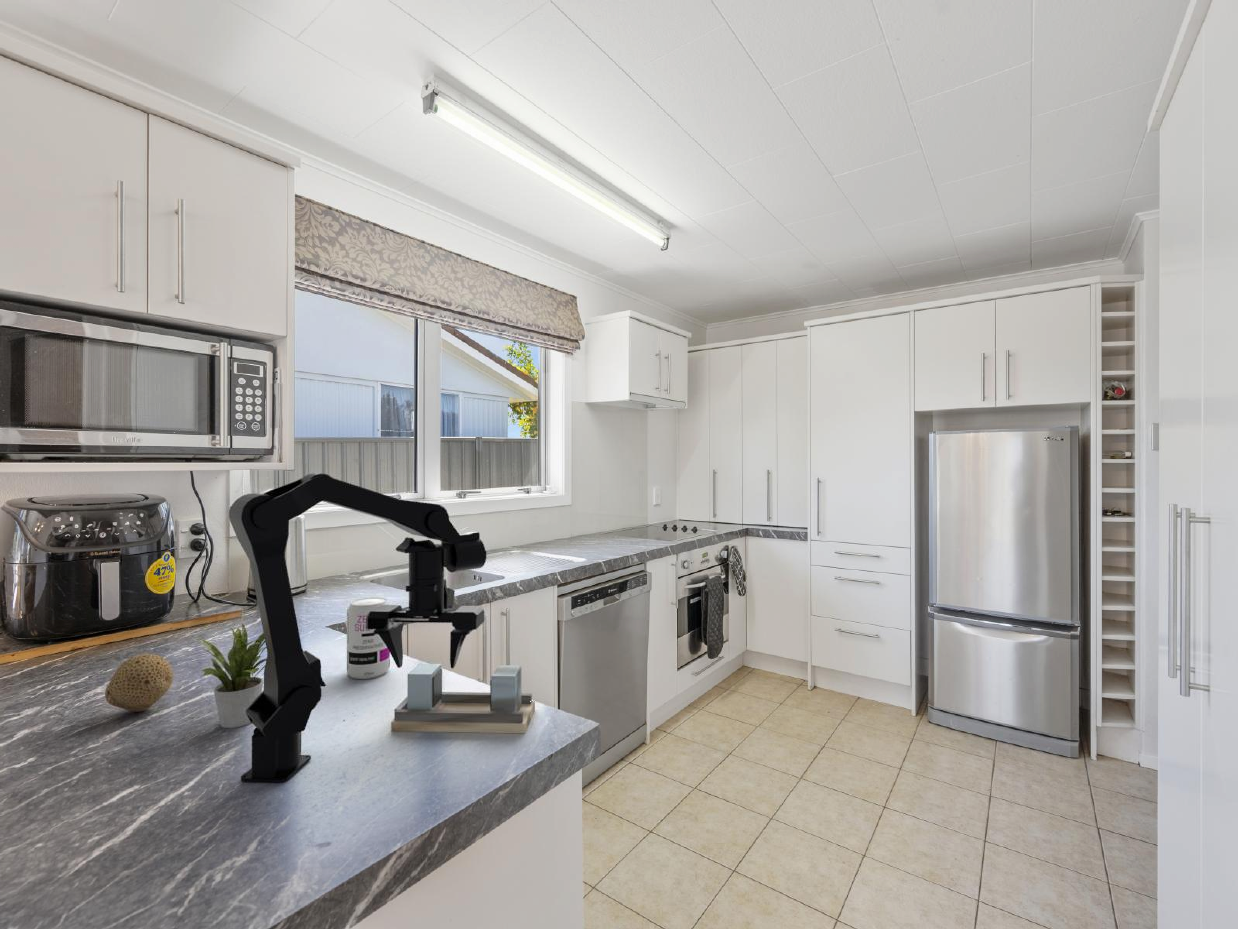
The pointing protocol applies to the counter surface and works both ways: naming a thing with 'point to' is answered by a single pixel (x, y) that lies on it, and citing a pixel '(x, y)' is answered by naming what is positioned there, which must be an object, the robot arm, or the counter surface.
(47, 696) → the counter surface
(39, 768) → the counter surface
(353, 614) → the supplement can
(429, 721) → the rail plate
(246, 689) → the house plant
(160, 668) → the natural sponge
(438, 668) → the block
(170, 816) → the counter surface
